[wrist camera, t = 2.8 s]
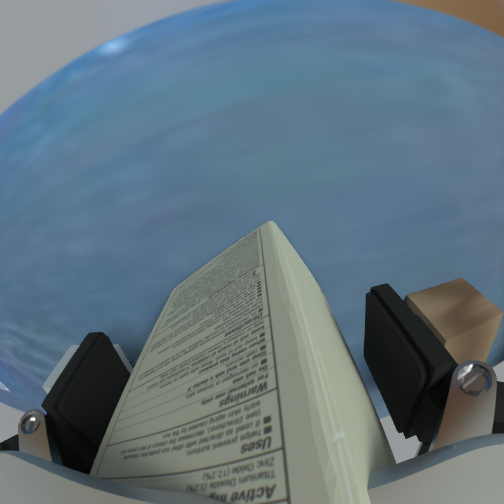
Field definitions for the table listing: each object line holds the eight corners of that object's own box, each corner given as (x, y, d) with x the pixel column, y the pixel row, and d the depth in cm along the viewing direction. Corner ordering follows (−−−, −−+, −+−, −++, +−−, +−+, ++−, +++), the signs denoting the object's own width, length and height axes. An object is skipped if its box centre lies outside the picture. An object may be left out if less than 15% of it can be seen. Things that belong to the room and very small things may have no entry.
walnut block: (460, 277, 13) (503, 312, 9) (449, 331, 15) (481, 370, 11) (405, 294, 14) (446, 340, 9) (398, 350, 15) (426, 398, 11)
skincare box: (224, 342, 15) (201, 569, 3) (169, 285, 13) (62, 529, 2) (323, 282, 13) (426, 537, 2) (272, 210, 12) (370, 576, 1)
